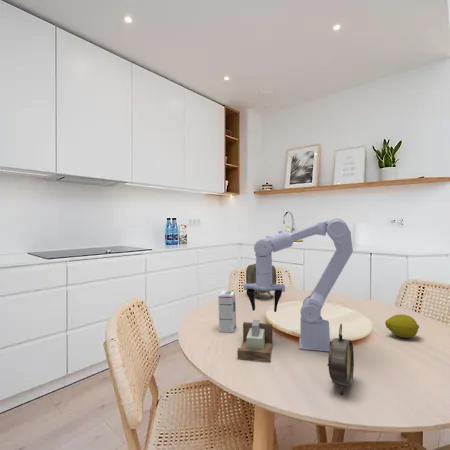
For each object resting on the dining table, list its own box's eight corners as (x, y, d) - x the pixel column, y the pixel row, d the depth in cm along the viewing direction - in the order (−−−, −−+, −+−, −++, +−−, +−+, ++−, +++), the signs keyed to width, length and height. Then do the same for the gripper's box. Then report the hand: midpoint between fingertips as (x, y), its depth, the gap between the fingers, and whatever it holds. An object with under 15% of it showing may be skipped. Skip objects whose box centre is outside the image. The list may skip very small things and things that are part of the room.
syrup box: (233, 332, 111) (233, 295, 110) (218, 331, 112) (218, 294, 111) (236, 327, 116) (235, 291, 116) (221, 326, 117) (221, 290, 117)
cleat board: (272, 343, 101) (272, 324, 100) (269, 362, 89) (269, 339, 88) (244, 341, 103) (243, 322, 103) (237, 358, 91) (237, 336, 91)
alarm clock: (348, 399, 70) (348, 333, 70) (325, 392, 73) (324, 329, 73) (355, 377, 80) (355, 318, 79) (334, 372, 83) (334, 315, 82)
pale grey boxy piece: (264, 343, 100) (264, 318, 99) (262, 354, 92) (262, 327, 91) (250, 342, 101) (249, 317, 100) (246, 353, 93) (246, 326, 93)
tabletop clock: (276, 298, 154) (276, 251, 153) (265, 302, 147) (265, 253, 146) (255, 293, 164) (255, 249, 163) (244, 296, 158) (244, 250, 157)
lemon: (416, 334, 107) (416, 312, 106) (423, 343, 99) (423, 320, 99) (383, 330, 110) (383, 310, 110) (387, 339, 103) (387, 317, 102)
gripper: (242, 274, 102) (242, 312, 102) (284, 275, 98) (284, 315, 99) (245, 270, 108) (245, 306, 109) (285, 271, 105) (285, 308, 106)
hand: (264, 310), depth 104 cm, fingers open, 7 cm apart
